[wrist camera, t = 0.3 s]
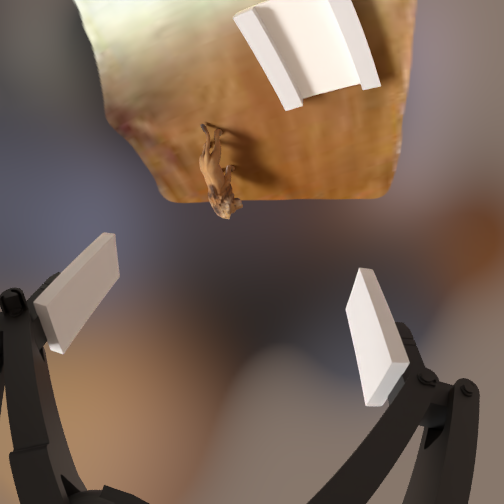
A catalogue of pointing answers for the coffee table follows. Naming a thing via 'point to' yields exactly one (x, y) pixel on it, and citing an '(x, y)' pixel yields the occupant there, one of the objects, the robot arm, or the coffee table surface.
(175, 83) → the coffee table surface
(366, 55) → the tray
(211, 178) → the lion figurine
